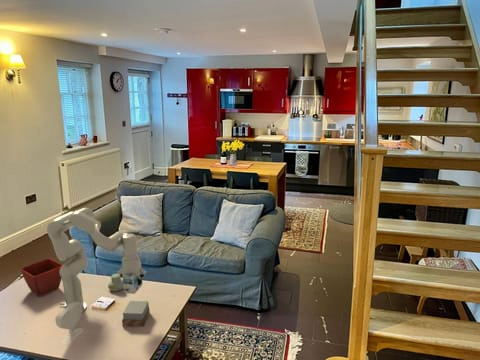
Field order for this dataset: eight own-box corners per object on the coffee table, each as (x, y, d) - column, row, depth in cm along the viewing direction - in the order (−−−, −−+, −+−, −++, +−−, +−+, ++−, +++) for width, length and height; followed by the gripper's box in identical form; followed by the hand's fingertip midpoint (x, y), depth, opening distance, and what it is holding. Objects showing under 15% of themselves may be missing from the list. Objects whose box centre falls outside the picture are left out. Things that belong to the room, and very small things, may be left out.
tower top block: (123, 319, 204) (122, 313, 203) (130, 306, 215) (130, 300, 214) (142, 319, 203) (142, 313, 202) (148, 307, 215) (148, 301, 214)
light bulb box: (134, 294, 200) (133, 276, 197) (123, 293, 201) (121, 275, 198) (143, 284, 210) (141, 267, 207) (132, 283, 211) (130, 266, 208)
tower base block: (122, 327, 204) (121, 320, 203) (129, 313, 216) (129, 306, 215) (143, 327, 204) (143, 320, 202) (149, 313, 216) (149, 306, 215)
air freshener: (106, 291, 239) (104, 277, 237) (113, 284, 247) (111, 271, 245) (121, 293, 237) (119, 279, 235) (127, 286, 245) (126, 273, 242)
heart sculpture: (65, 346, 188) (61, 316, 183) (57, 344, 189) (53, 315, 185) (86, 328, 202) (82, 300, 198) (78, 326, 204) (75, 298, 199)
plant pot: (52, 279, 254) (48, 257, 250) (66, 287, 244) (63, 265, 239) (23, 291, 239) (19, 268, 235) (37, 300, 229) (33, 277, 224)
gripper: (112, 258, 197) (115, 287, 201) (144, 259, 196) (146, 288, 201) (117, 252, 204) (120, 280, 208) (148, 253, 204) (150, 281, 208)
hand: (133, 284), depth 204 cm, fingers closed on light bulb box, 7 cm apart
